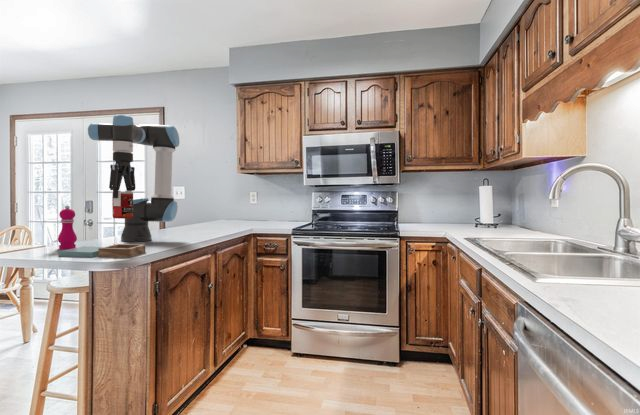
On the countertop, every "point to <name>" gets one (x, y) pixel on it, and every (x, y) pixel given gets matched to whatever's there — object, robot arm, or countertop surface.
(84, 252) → the plate
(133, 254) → the collar
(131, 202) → the canned food
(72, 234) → the pepper mill
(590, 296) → the countertop surface
